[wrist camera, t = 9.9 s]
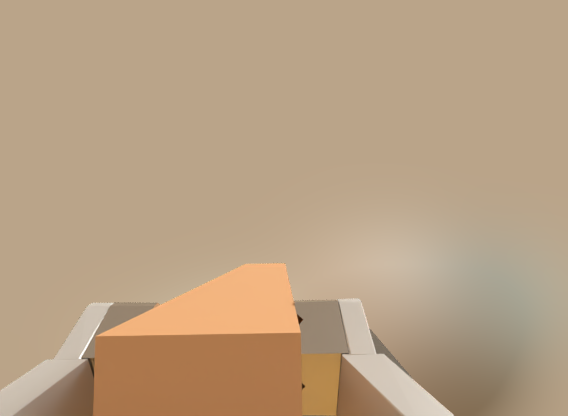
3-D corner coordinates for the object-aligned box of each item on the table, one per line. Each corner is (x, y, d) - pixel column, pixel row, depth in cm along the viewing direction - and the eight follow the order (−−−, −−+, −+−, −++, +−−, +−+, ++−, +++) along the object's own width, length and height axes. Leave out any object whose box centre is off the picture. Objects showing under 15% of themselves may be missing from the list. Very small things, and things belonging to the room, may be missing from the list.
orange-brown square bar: (245, 304, 29) (245, 263, 30) (285, 303, 29) (285, 263, 30) (88, 559, 5) (95, 336, 6) (305, 553, 5) (300, 332, 6)
